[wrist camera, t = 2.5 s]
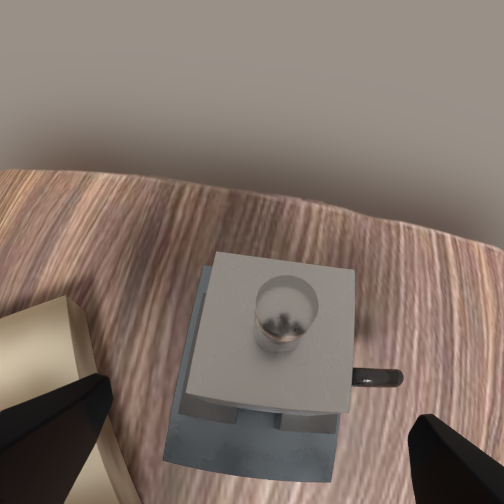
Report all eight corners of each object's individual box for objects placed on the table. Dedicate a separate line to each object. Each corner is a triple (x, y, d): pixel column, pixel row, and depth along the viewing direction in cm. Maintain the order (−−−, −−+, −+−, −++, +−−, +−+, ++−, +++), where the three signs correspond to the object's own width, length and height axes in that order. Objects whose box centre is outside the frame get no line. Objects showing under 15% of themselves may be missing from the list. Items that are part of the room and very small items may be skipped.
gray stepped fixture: (368, 475, 14) (437, 497, 7) (171, 456, 15) (121, 477, 8) (379, 301, 20) (435, 238, 13) (207, 279, 21) (188, 203, 14)
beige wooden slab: (144, 508, 13) (127, 520, 10) (-15, 506, 10) (-38, 508, 7) (85, 311, 19) (65, 294, 17) (-45, 354, 16) (-67, 343, 14)
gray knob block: (309, 415, 12) (377, 409, 6) (209, 402, 12) (167, 384, 6) (318, 324, 14) (376, 234, 8) (226, 311, 15) (210, 211, 8)
